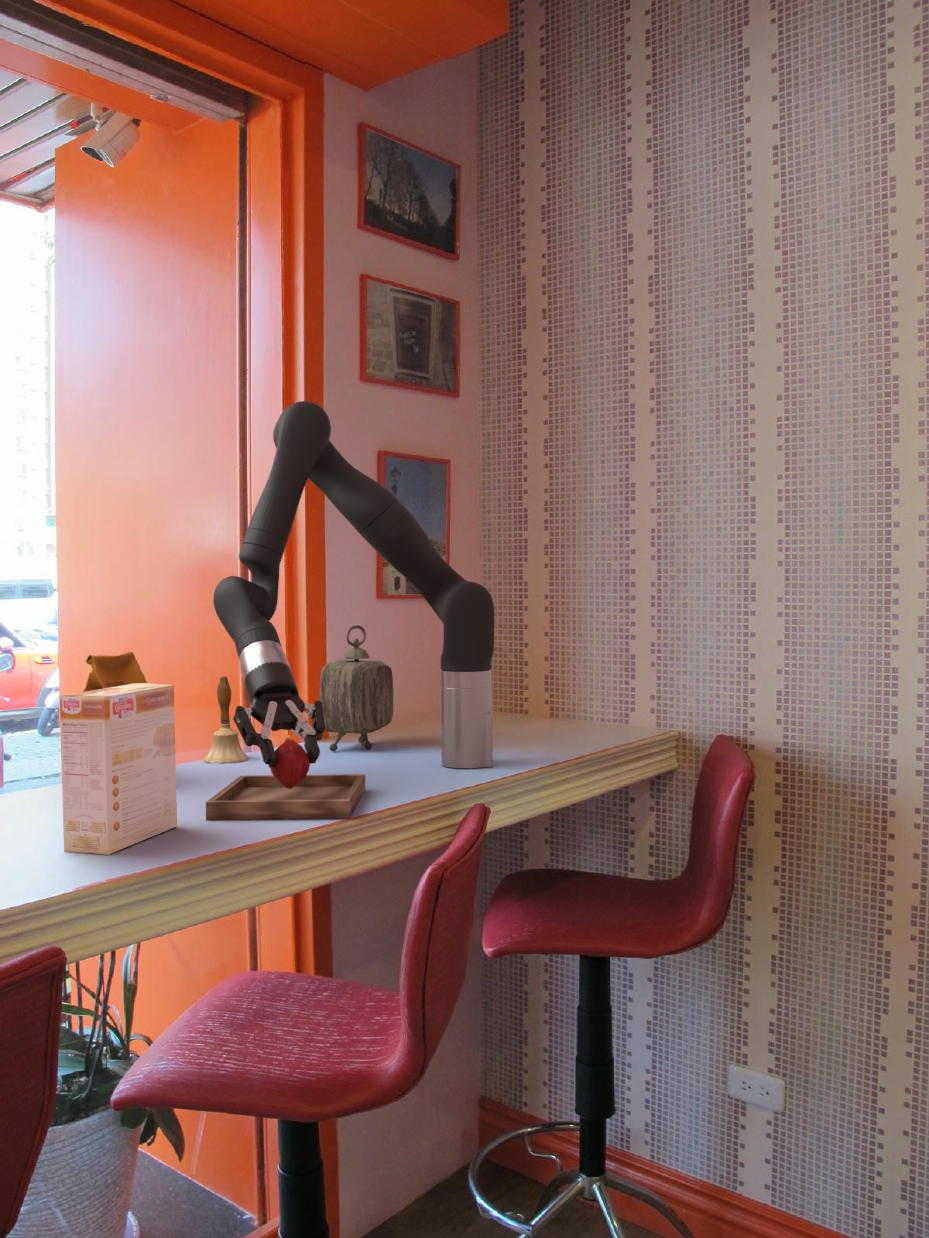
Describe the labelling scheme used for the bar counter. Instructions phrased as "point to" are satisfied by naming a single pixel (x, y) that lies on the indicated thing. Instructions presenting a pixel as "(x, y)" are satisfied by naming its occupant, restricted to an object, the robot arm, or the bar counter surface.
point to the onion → (290, 763)
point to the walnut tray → (287, 798)
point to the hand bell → (225, 732)
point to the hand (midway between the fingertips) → (294, 761)
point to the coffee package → (113, 671)
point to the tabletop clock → (356, 694)
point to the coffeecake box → (117, 766)
